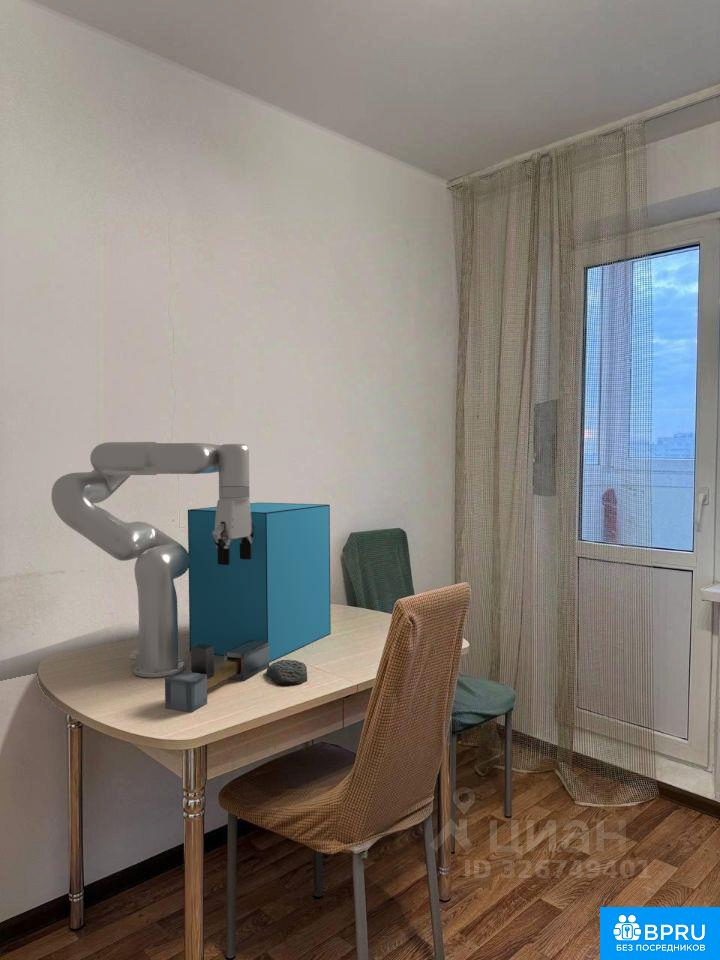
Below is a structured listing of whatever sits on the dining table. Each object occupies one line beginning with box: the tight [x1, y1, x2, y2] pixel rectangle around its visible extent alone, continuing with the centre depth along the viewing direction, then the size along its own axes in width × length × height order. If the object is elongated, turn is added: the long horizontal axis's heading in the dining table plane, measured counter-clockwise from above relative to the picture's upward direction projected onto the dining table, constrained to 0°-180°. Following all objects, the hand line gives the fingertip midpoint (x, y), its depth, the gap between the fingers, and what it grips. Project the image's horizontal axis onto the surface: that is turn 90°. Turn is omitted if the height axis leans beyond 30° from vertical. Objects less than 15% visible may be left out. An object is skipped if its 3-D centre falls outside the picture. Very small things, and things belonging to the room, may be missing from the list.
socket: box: [164, 670, 208, 713], centre depth 147 cm, size 7×6×6 cm
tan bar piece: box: [190, 644, 241, 690], centre depth 156 cm, size 4×22×9 cm, turn 157°
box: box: [187, 502, 332, 664], centre depth 197 cm, size 27×33×40 cm
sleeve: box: [223, 640, 270, 682], centre depth 170 cm, size 6×12×6 cm, turn 157°
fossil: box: [265, 659, 308, 687], centre depth 166 cm, size 10×13×4 cm
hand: (235, 561), depth 168 cm, fingers open, 9 cm apart
